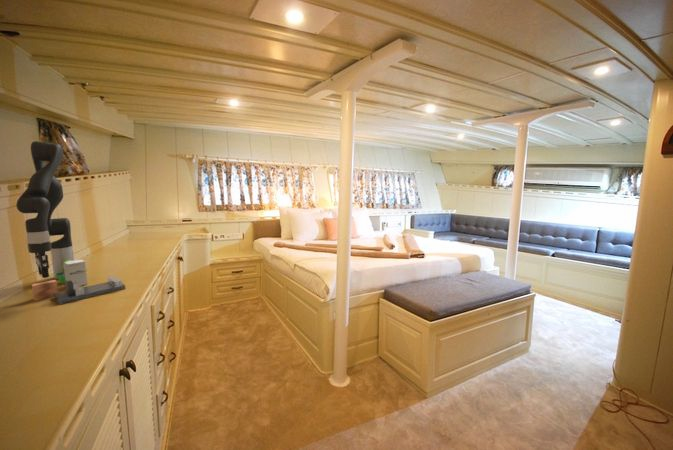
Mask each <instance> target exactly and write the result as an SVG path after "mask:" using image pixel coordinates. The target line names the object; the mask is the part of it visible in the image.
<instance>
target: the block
mask: <svg viewBox="0 0 673 450" xmlns="http://www.w3.org/2000/svg"><path fill="white" fill-rule="evenodd" d="M31 288H32V295H33V299H34V301H39V300H43V299H44V300H45V299H48V298H52V297H53V298H54V295H53V294H54V293H59V289H58V281H57V279H54V280H53V279H52V280H47V281H42V282H37V283H31Z"/></svg>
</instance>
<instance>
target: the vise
mask: <svg viewBox="0 0 673 450" xmlns="http://www.w3.org/2000/svg"><path fill="white" fill-rule="evenodd" d="M81 287H82V286H81ZM82 288H83V289H84V294H82V295H78V296H76V295H75V294H72V295H68V294H67V293H66V290H64V291H58V293H54V294H53V295H54V297H53V299H54V300H55V301H56V302H57V304H58V305H62V304H67V303H71V302H75V301H79V300H84V299H87V298H92V296H93V297H96V296H101V295H104V294H109V293H114V292H117V291H120V290H121V291H122V290H126V284H124V283H123V280H122V279H120V278H119V277H117V276H116V275H112V276H108V277H107V281H105V282H102V283H96V284H93V285H87V286H83V287H82Z"/></svg>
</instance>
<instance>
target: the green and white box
mask: <svg viewBox="0 0 673 450" xmlns="http://www.w3.org/2000/svg"><path fill="white" fill-rule="evenodd" d="M67 261H70V260H65V261H64V262H67ZM62 268H63V270H64V265H63V267H62ZM87 271H88V270H87V269H86V272H87ZM56 275H57V276H58V278H59V279H58V280H59V282H60V283H61V284H63V285H65V281H66V279H65V271H63V272H60V273H56Z"/></svg>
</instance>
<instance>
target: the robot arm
mask: <svg viewBox="0 0 673 450" xmlns="http://www.w3.org/2000/svg"><path fill="white" fill-rule="evenodd" d="M30 153H31V158H32V162H33V166H34V169H35V173H33V174H32V175H31V177H30V179H29V181H28V185H27V188H26V190H25V191H23V193H22V194H21V195H20V197H18V199H17V201H16V204H15V205H16V206H15V207H16V209H17V210H18V212H20V213H22V214H37V215H36V217H33V218H28V219H26V220H25V222H24V224H25V225H24V226H25V231H26V242H27V249H28V252H29V253H31V254H34V259H35V264H36V267H37V270H38V274H39V275H41V277H42V279H48V278H49V277H50V274H49V273H50V272H49V269H50V264H49V257H48V254H46V252H50V255H51V256H50V257H51V263H52V270H53V279H54V280H59V278H58V276H57V275H56V273H60V272H63V271H64V270H63V268H62V267H63V265H64V263H63V262H64V261H65V260H70V261H74V260H75V255H74V249H73V241H72V227H71V222H70V221H71V220H69V218H67V217H61V218H60V217H59V218H57V217H56V218H52V215H53V213H54V211H55V210H56V208H57V207H58V206H59V205H60V204H61V202H62V201H63V198H64V190H63V185H62V183H61V181H59V180H58V178H57V177H55V174H56V173H57V171H58V169H59V167H60V164H61V162H62V160H63V158H64V150H63V147H62V146H61V145H60V144H59V143H55V142H45V141H35V140H34V141H32V142H31V144H30ZM45 162H48V163H47V164H46V163H45ZM53 236H62V237H61V238H58V239H57V240H55V241H54V240H53V241H52V242H51V237H53Z"/></svg>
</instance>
